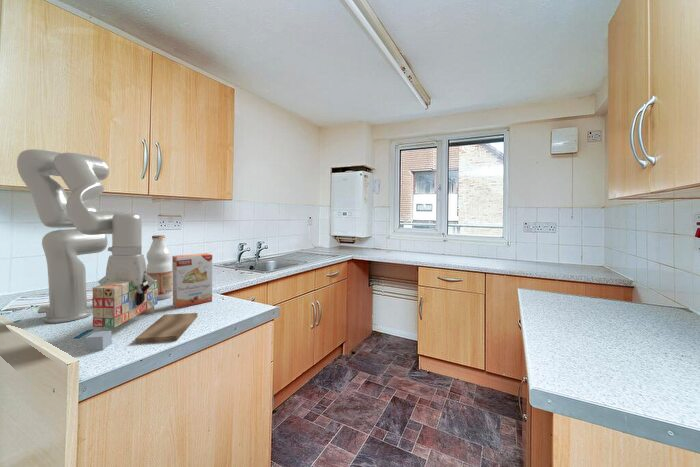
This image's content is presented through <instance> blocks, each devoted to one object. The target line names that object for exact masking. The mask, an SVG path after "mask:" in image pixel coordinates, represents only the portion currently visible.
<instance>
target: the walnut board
mask: <svg viewBox="0 0 700 467" xmlns="http://www.w3.org/2000/svg"><path fill="white" fill-rule="evenodd" d="M197 318H198V312H189V313H170V314H168V313H167V314H163V315H162V316H161V317H159V318H158V319H157V320H156V321H155V322H154V323H153V322H152V324H151V325H150V326H148V327H147V328H146V329H144V330H143V332H141V333H140V334H139V335H138V336H136V337H135V338H134V340H135V344H147V343H160V342H177V341H178V340H179V339H180V338H181V336H182V335H183V334H184V333H185V332H186V331H187V330H188V328H189V327H190V326H191V325H192V324H193V323H194V321H195V320H196V319H197Z"/></svg>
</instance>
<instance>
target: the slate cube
mask: <svg viewBox="0 0 700 467" xmlns="http://www.w3.org/2000/svg"><path fill="white" fill-rule="evenodd" d="M112 335H113V334H112V330H99V331H94V332H92V333H91V334H89V335H88V336H86V337H85V351H86V352H96V351H98V352H99V351H104V350H106V349H107V348H108V347H109V346H111V345H112V344H113V339H112V337H113V336H112Z"/></svg>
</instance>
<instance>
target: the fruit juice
mask: <svg viewBox="0 0 700 467" xmlns="http://www.w3.org/2000/svg"><path fill="white" fill-rule="evenodd" d="M151 239H152V242H151V245H150V246H149V247H150V248H149V250H148V251H147V253H146V260H147V263H146V270H147V275H149V276H150V277H151V278H153V279H154V280H157V288H158V301H160V300H166V299H169V298H171V297H173V277H172V262H171V258H172V253H171V251H170V249H169V248H168V245H167V244H166V241H165V240H166V235H162V234H160V235H155V234H154V235H152V236H151Z"/></svg>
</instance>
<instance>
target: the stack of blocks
mask: <svg viewBox="0 0 700 467" xmlns="http://www.w3.org/2000/svg"><path fill="white" fill-rule="evenodd" d="M147 283H148V282H147V281H146V282H145V283H143V284H144V286H145V285H146V284H147ZM137 294H138V291H137V289H136V287H133V286H132V282H121V281H110V282H108V283H105V284H102V285H100V284H98V285H96V286H93V287H92V298H91V299H92V302H91V303H92V306H91V307H92V309H93V313H92V328H114V329H115V328H116V327H118V326H119V325H122V324H124V323H126V322H127V321H129V320H131V319H134V318H135V317H136V316H137V315H138V314H140V313H142V312H143V311H145V310H147V309H149V308H151V307H153V306H154V307H155V306H157V305H158V301H159V300H158V288H157V280H155V283H153V284H152V285H151V286H150V287H149V288H148V289H147V290H146V291H145V300H144V302H143V303H142V304H140V305H136V295H137ZM138 316H139V315H138Z"/></svg>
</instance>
